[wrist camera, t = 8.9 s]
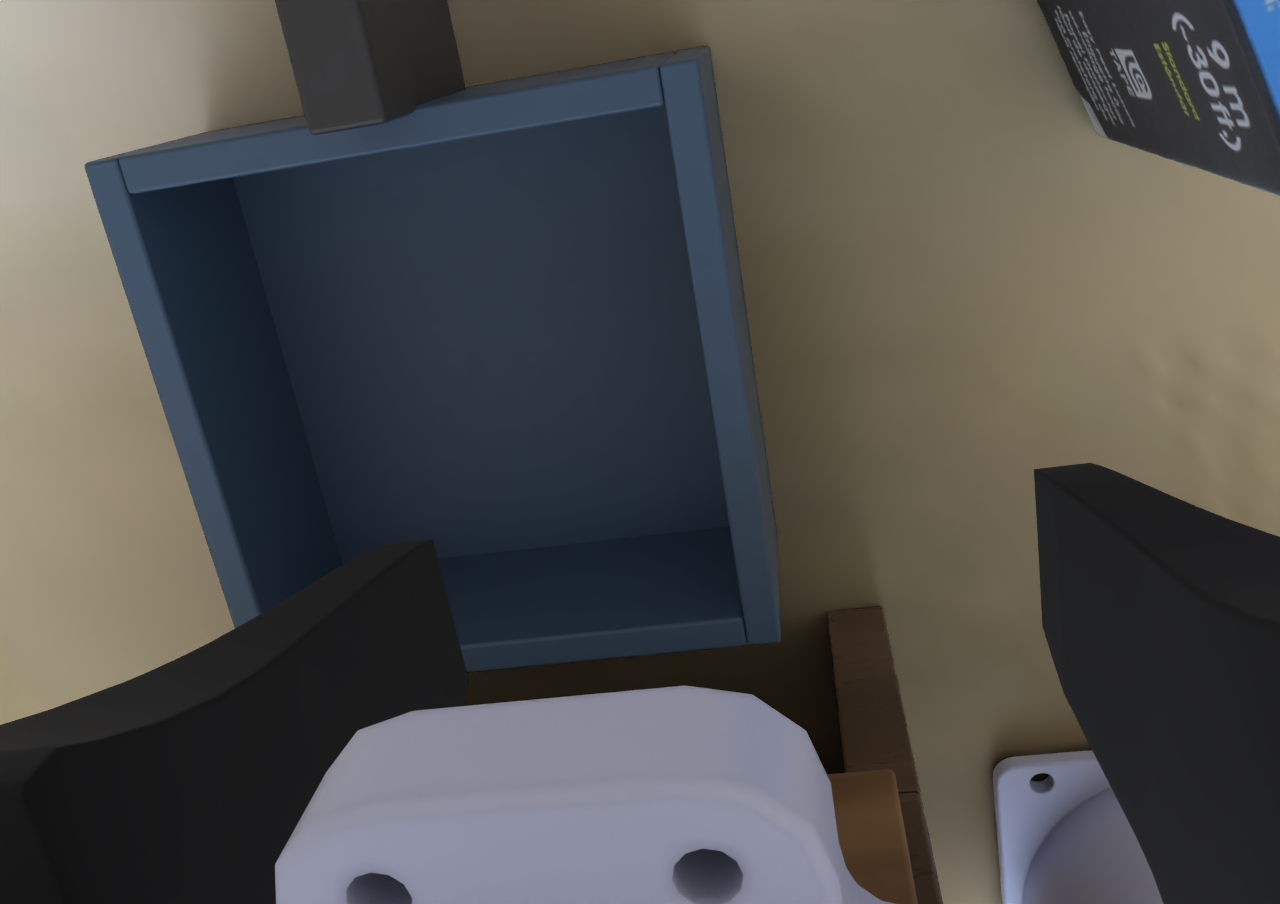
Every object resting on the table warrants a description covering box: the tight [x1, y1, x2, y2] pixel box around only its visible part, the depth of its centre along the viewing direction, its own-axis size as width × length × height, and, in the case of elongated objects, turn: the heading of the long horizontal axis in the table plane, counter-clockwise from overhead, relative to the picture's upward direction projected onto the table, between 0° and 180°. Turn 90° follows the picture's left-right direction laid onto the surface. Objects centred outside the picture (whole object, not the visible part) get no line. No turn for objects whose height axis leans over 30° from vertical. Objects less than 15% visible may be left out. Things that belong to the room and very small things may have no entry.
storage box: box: [85, 0, 781, 673], centre depth 20 cm, size 10×16×6 cm, turn 9°
